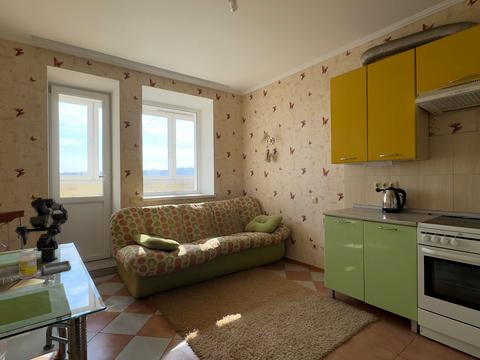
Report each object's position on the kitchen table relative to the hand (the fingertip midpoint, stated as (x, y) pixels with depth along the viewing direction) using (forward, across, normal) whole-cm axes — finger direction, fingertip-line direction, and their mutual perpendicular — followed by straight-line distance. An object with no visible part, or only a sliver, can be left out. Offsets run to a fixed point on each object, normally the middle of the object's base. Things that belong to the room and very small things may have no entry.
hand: (35, 244), depth 133 cm
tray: (+10, +9, +9) cm, 16 cm away
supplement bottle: (+15, -1, +4) cm, 16 cm away
